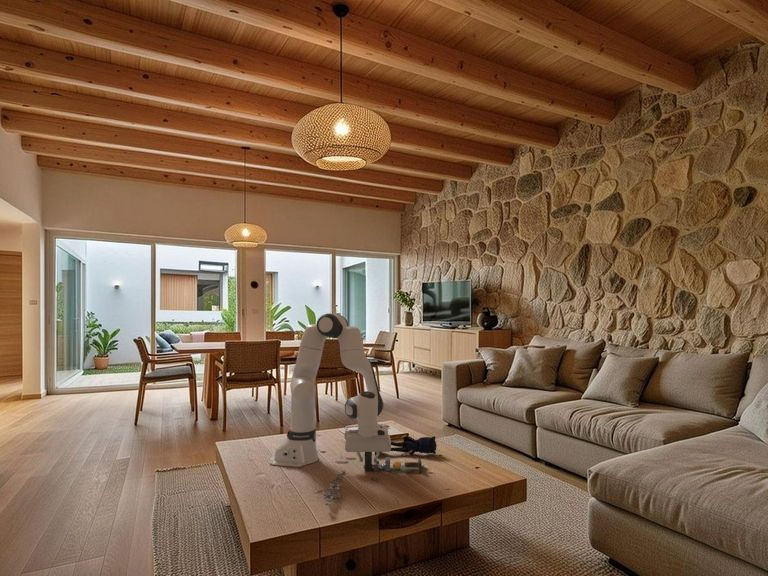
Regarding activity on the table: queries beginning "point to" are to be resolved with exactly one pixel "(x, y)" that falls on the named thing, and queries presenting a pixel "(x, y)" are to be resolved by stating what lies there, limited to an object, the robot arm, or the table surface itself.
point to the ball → (397, 465)
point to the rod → (369, 466)
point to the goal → (412, 464)
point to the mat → (402, 469)
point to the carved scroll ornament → (334, 488)
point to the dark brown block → (376, 467)
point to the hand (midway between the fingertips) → (368, 461)
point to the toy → (415, 445)
